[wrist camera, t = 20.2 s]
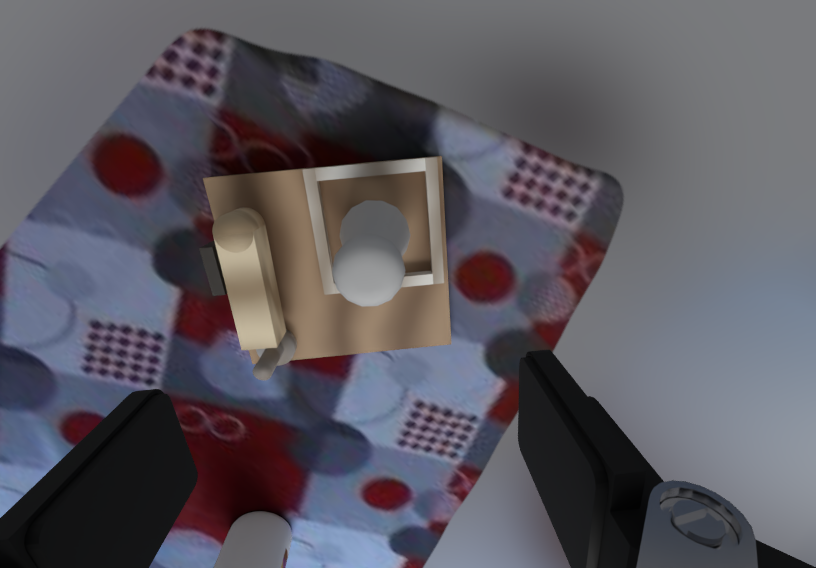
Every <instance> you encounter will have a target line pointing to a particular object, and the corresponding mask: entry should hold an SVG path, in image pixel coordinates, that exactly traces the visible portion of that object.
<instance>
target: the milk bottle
mask: <svg viewBox="0 0 816 568" xmlns="http://www.w3.org/2000/svg"><path fill="white" fill-rule="evenodd" d="M291 540H292V532H291V528H290V526H289V524H288V523H287V522H286V520H284V519H283V518H282V517H280V516H278V515H276V514H274V513H271V512H266V511H254V512H250V513H247V514H244V515H242V516H241V517H239V518H238V519H237V520H236V521H235V522H234V523H233V524H232V526H231V528H230V530H229V532H228V535H227V537H226V539H225V542H224V544H223V547H222V549H221V551H220V554H219V556H218V559H217V561H216V563H215V566H214V568H285V566H286V562H287V558H288V554H289V550H290V545H291Z"/></svg>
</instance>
